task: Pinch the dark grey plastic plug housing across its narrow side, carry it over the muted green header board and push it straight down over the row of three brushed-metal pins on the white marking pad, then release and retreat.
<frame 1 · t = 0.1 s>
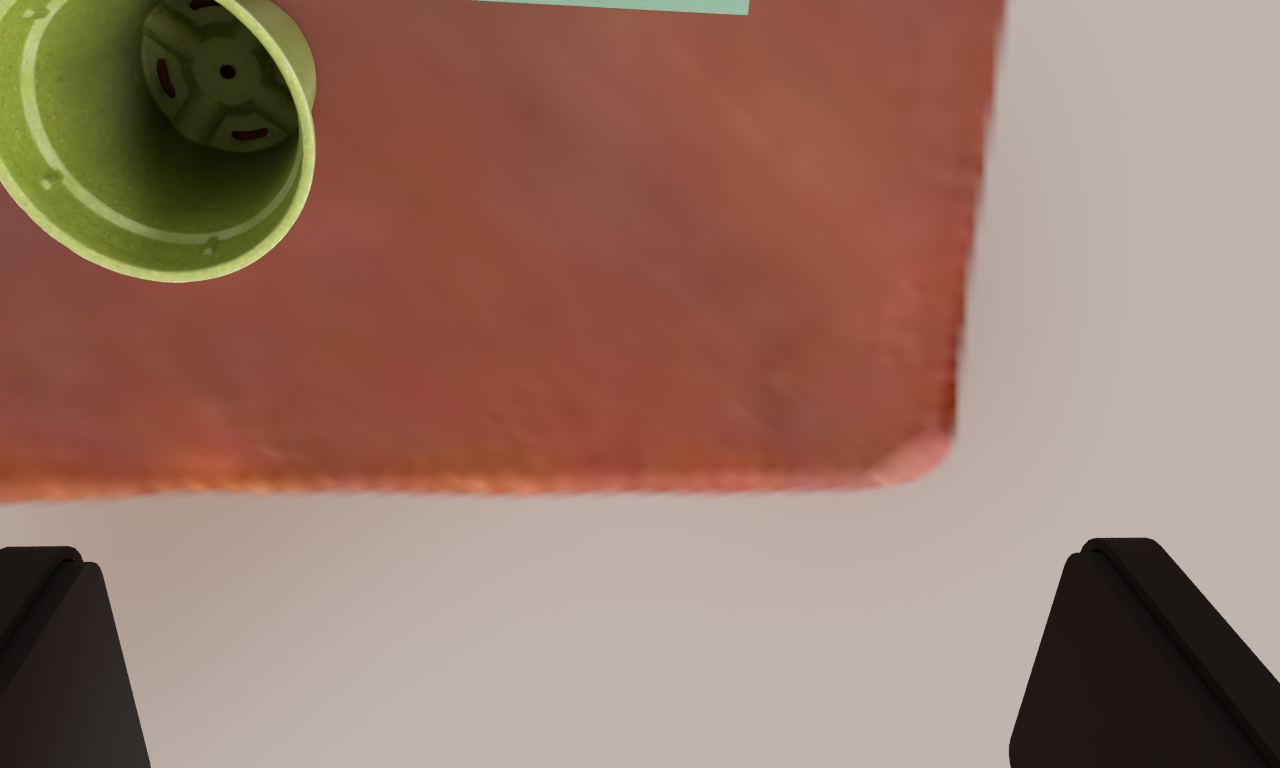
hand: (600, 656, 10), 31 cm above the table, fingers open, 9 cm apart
plant pot: (230, 68, 37), on the table
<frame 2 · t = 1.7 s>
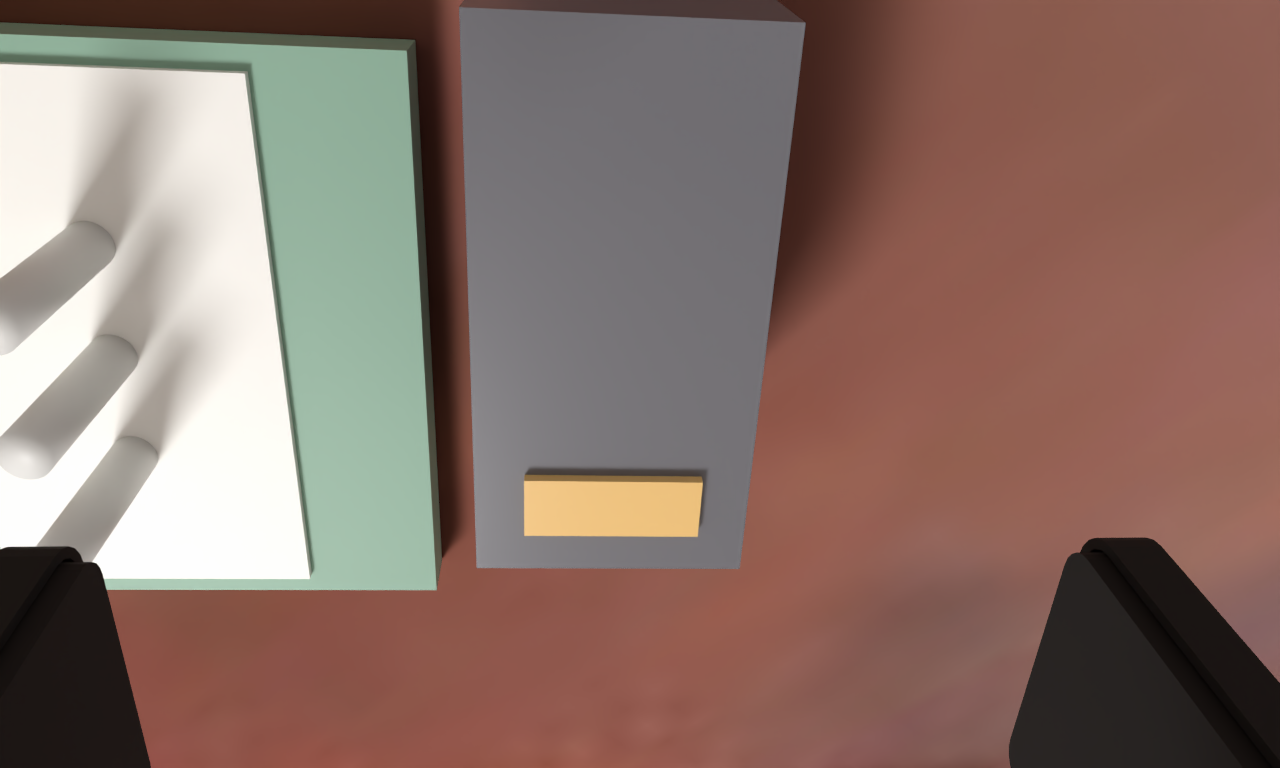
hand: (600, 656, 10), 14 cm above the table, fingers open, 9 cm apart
header board: (138, 328, 23), on the table
plug housing: (608, 213, 22), on the table
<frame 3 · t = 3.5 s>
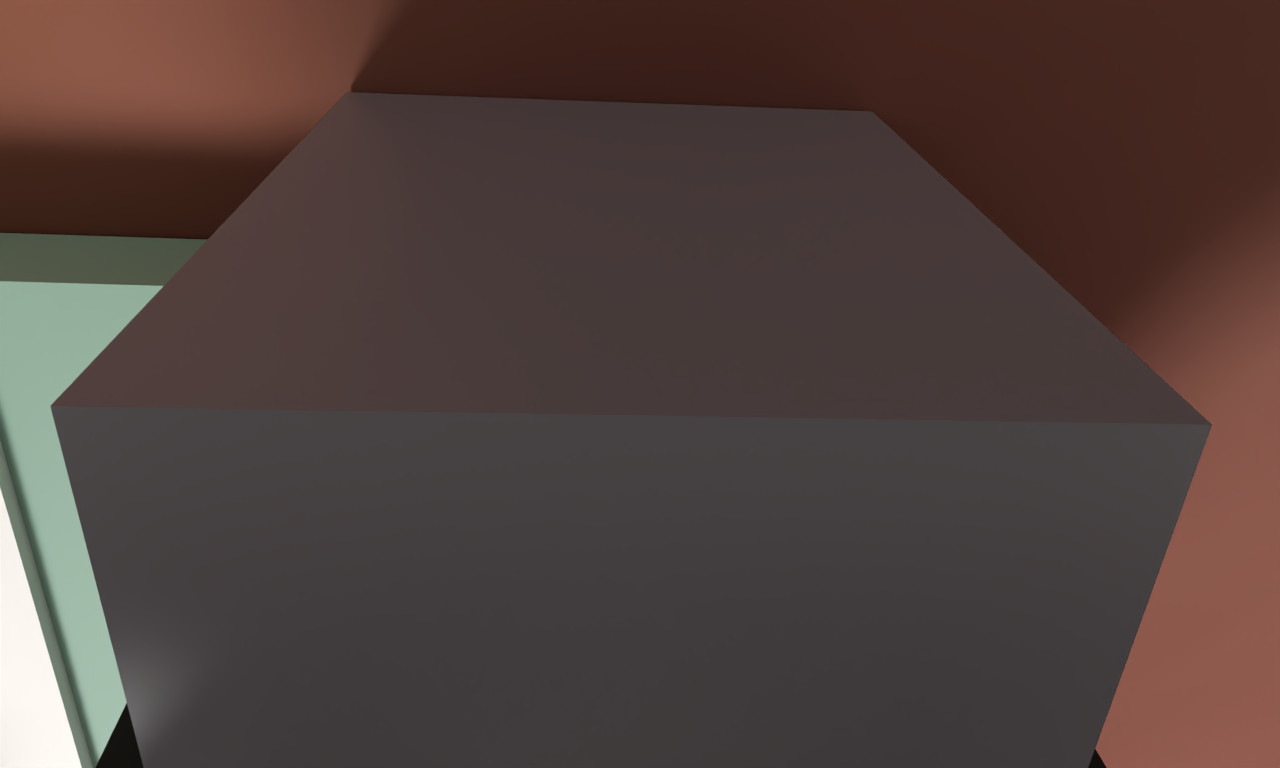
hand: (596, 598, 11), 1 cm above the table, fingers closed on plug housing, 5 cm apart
plug housing: (599, 530, 12), on the table, touching gripper
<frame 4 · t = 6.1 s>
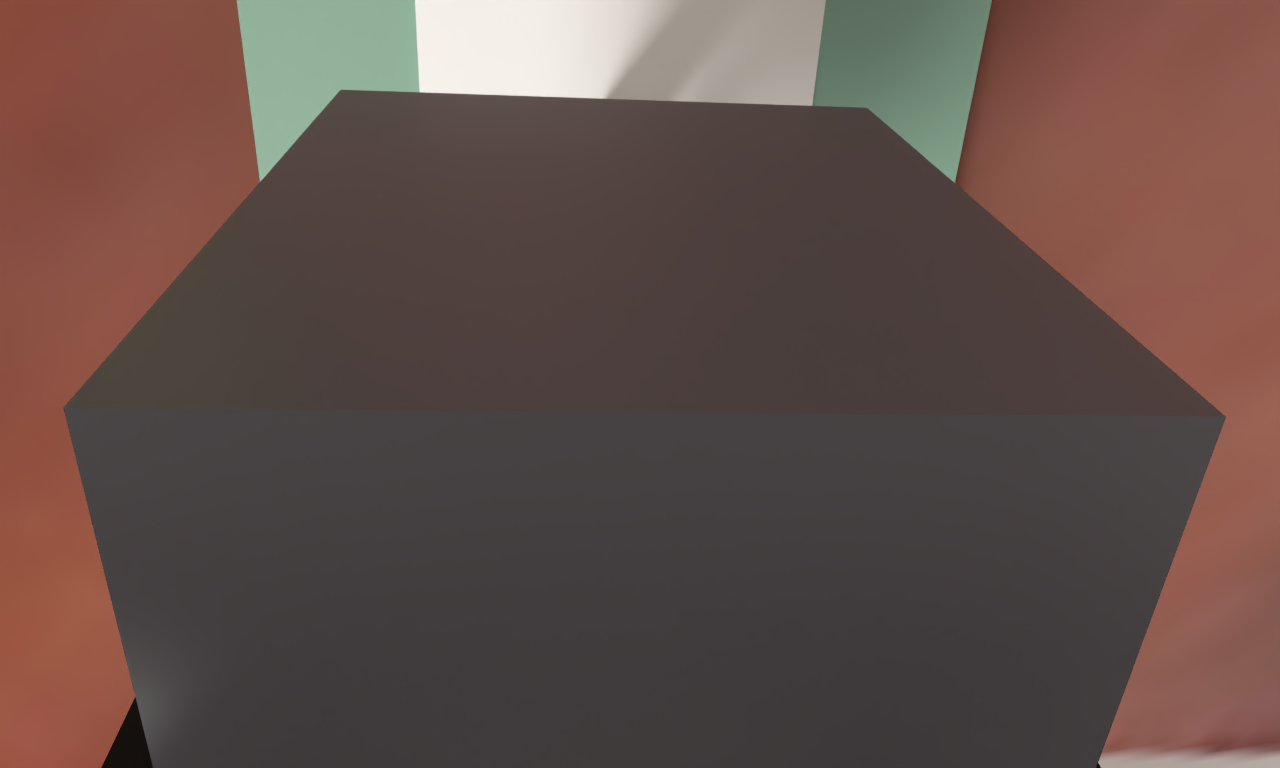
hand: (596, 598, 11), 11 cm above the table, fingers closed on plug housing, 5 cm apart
header board: (609, 235, 21), on the table
plug housing: (594, 528, 12), point 10 cm above the table, touching gripper
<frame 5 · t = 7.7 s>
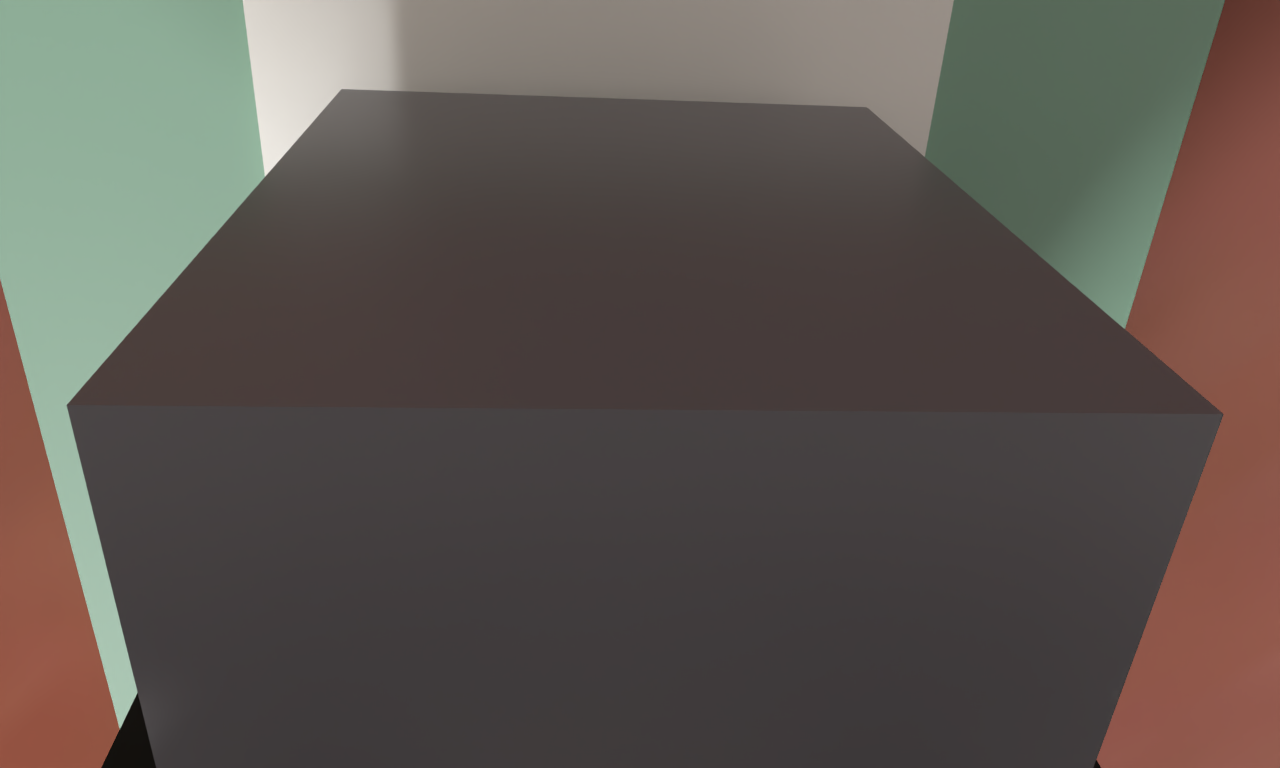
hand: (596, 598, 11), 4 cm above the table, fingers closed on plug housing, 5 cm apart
header board: (587, 427, 14), on the table
plug housing: (594, 527, 12), point 2 cm above the table, touching gripper
when the fingers open (3 cm above the table, at t = 8.8 s): plug housing stays where it is, resting on header board.
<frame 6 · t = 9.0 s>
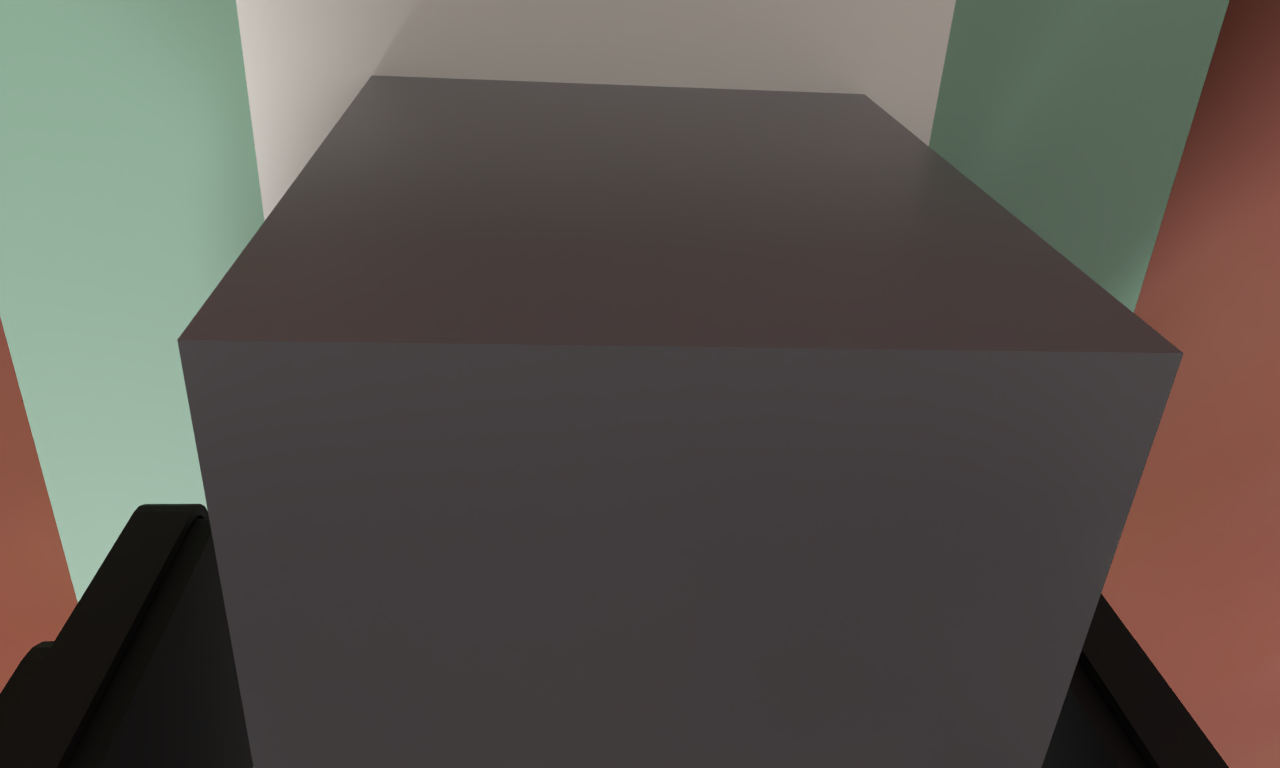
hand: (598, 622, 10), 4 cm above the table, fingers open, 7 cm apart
header board: (585, 432, 14), on the table
plug housing: (605, 494, 13), point 1 cm above the table, touching header board
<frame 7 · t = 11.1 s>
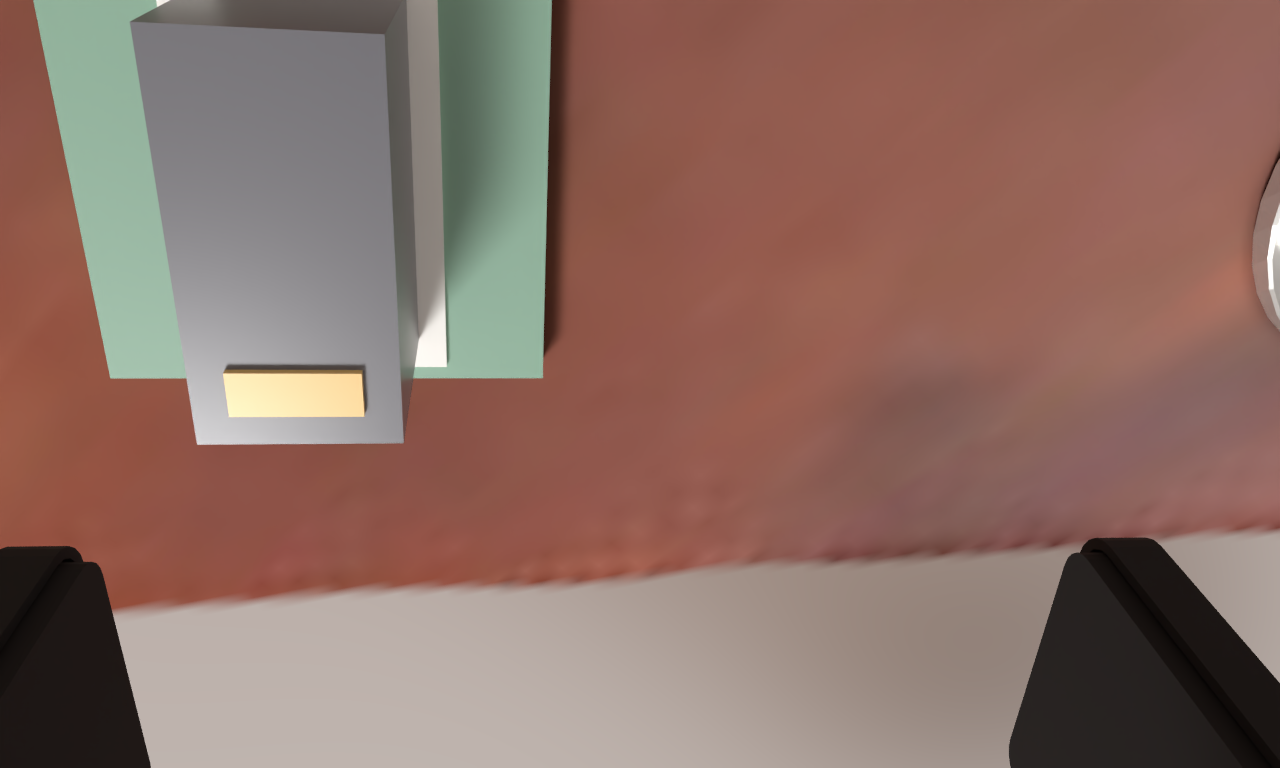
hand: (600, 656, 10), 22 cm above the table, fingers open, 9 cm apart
header board: (321, 161, 29), on the table
plug housing: (321, 178, 28), point 1 cm above the table, touching header board
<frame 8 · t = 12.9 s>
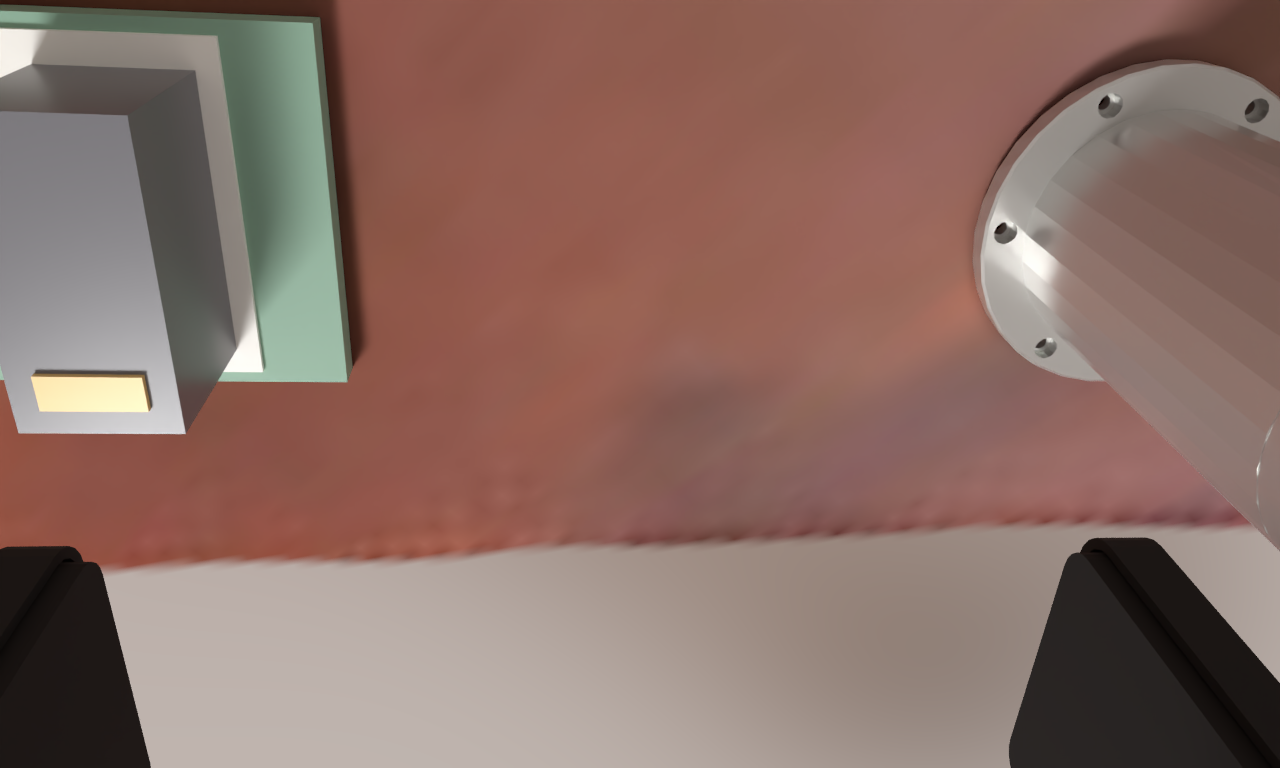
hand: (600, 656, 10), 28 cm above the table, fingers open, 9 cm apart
header board: (149, 202, 36), on the table
plug housing: (141, 217, 35), point 1 cm above the table, touching header board
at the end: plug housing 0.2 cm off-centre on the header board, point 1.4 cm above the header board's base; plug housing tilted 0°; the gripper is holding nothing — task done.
